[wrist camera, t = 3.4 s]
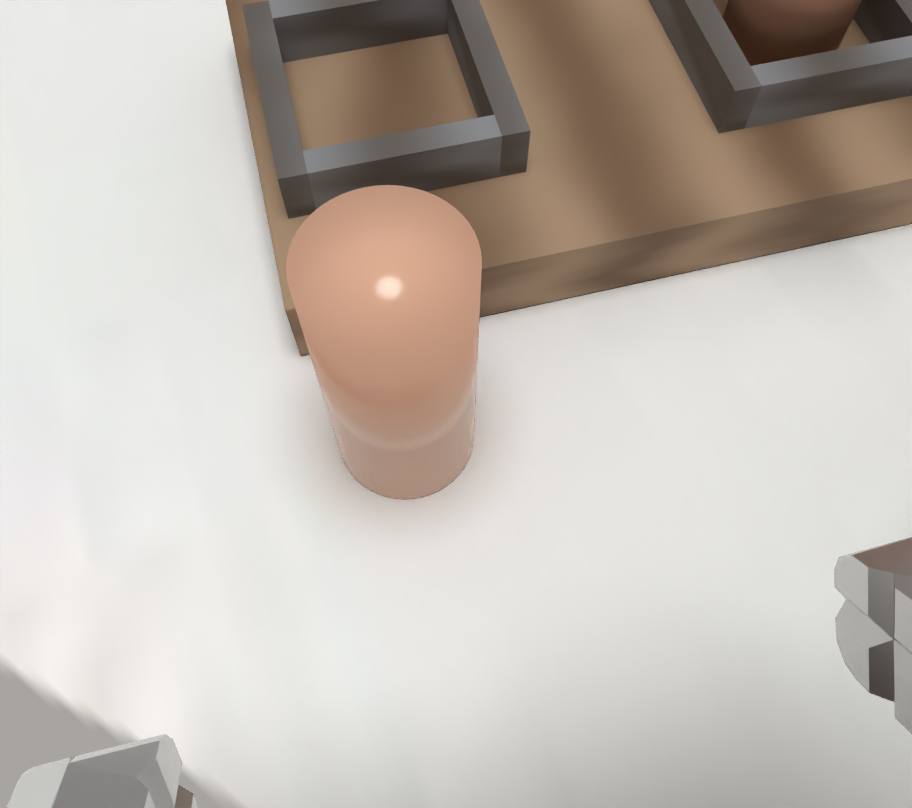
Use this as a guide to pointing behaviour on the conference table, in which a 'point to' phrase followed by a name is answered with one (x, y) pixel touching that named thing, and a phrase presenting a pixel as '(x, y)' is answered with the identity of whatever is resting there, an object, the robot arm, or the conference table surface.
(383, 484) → the terracotta pillar
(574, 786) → the conference table surface
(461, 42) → the build base
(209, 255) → the conference table surface
